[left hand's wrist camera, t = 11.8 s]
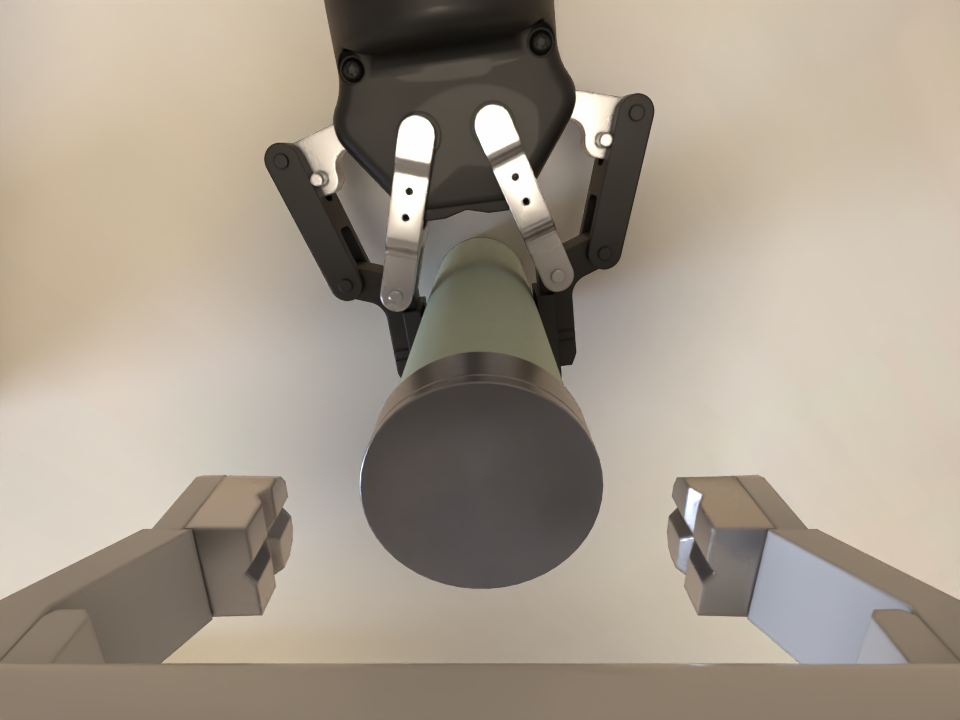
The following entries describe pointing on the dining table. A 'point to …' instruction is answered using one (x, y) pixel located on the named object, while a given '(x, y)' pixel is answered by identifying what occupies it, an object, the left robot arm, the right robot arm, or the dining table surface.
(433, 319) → the mint green cylinder
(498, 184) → the right robot arm
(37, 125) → the dining table surface
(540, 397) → the lid
